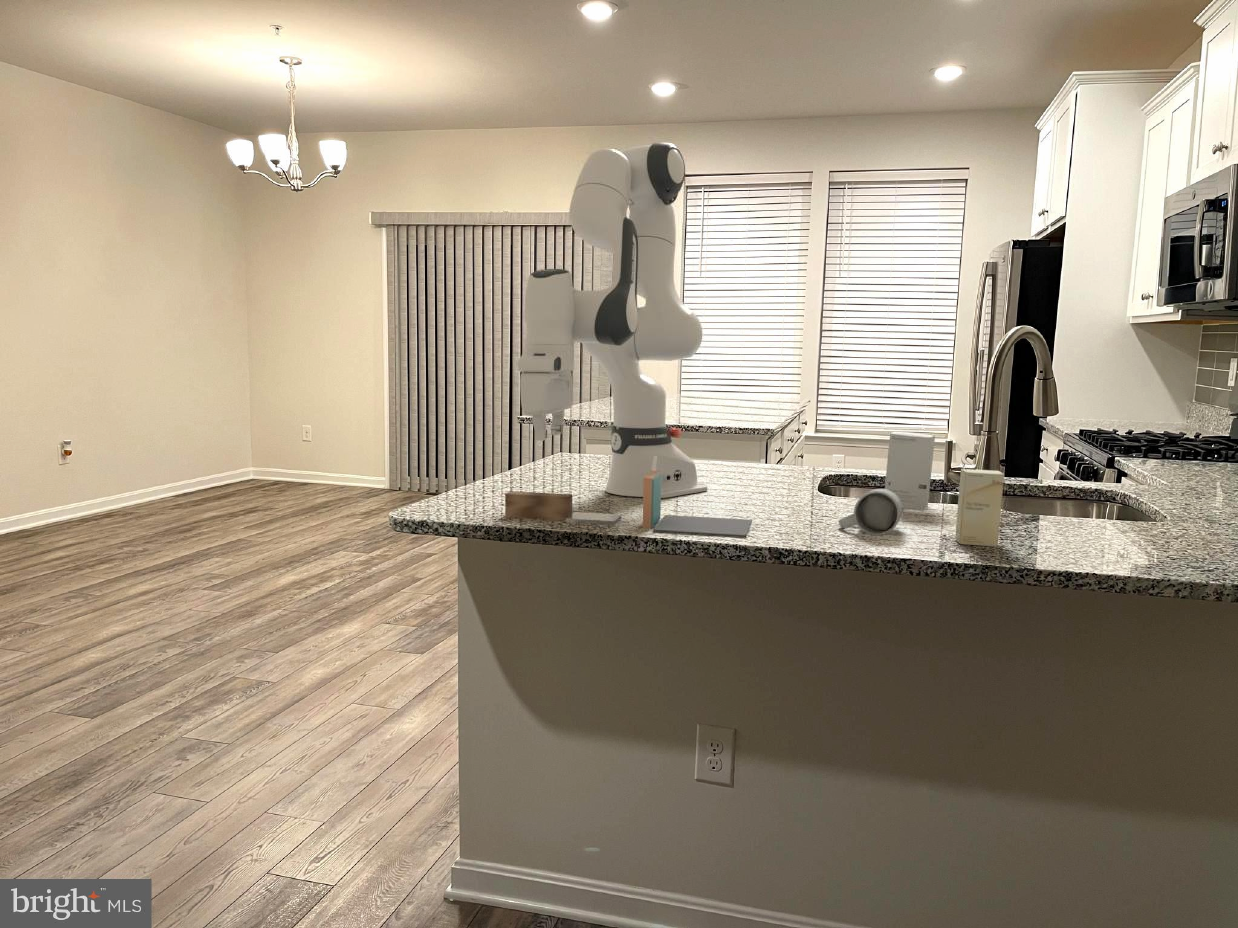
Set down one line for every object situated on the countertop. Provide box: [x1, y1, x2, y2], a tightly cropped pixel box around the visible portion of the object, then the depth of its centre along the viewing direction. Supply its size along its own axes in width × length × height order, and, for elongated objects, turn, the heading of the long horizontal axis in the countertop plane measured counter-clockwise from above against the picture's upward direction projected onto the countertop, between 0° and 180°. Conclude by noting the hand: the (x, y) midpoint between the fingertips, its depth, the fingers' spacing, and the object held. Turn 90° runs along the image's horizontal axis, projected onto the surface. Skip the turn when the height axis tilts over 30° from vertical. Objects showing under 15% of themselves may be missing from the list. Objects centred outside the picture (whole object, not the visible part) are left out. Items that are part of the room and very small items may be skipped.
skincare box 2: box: [954, 468, 1005, 547], centre depth 150 cm, size 6×4×12 cm
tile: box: [642, 471, 662, 530], centre depth 161 cm, size 2×8×9 cm, turn 168°
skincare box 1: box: [884, 431, 936, 511], centre depth 180 cm, size 8×6×15 cm
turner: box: [504, 490, 623, 526], centre depth 165 cm, size 21×6×4 cm, turn 77°
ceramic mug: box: [838, 488, 903, 537], centre depth 159 cm, size 11×8×8 cm
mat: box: [652, 514, 753, 538], centre depth 160 cm, size 16×13×1 cm
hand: (548, 437), depth 164 cm, fingers open, 8 cm apart
